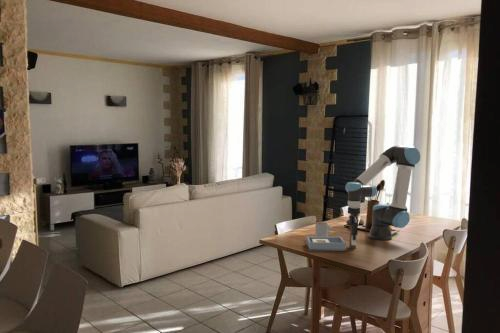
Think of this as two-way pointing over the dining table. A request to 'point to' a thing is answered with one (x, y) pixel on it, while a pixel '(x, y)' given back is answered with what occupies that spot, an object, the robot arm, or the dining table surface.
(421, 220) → the dining table surface
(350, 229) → the peg
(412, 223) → the dining table surface
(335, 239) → the crate
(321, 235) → the mug
